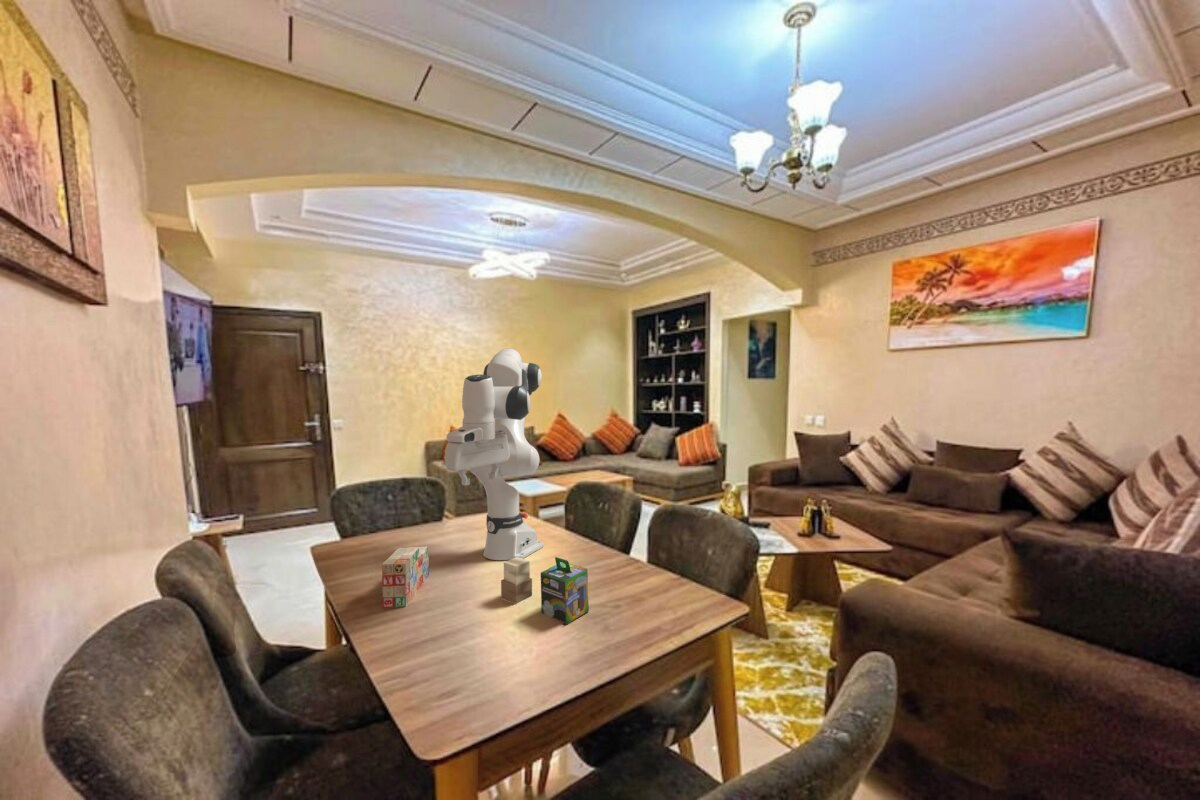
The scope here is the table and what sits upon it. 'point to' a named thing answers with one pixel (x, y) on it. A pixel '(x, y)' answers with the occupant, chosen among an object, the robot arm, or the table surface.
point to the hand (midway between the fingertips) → (479, 481)
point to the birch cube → (516, 570)
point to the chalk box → (564, 591)
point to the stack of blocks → (404, 575)
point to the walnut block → (516, 590)
